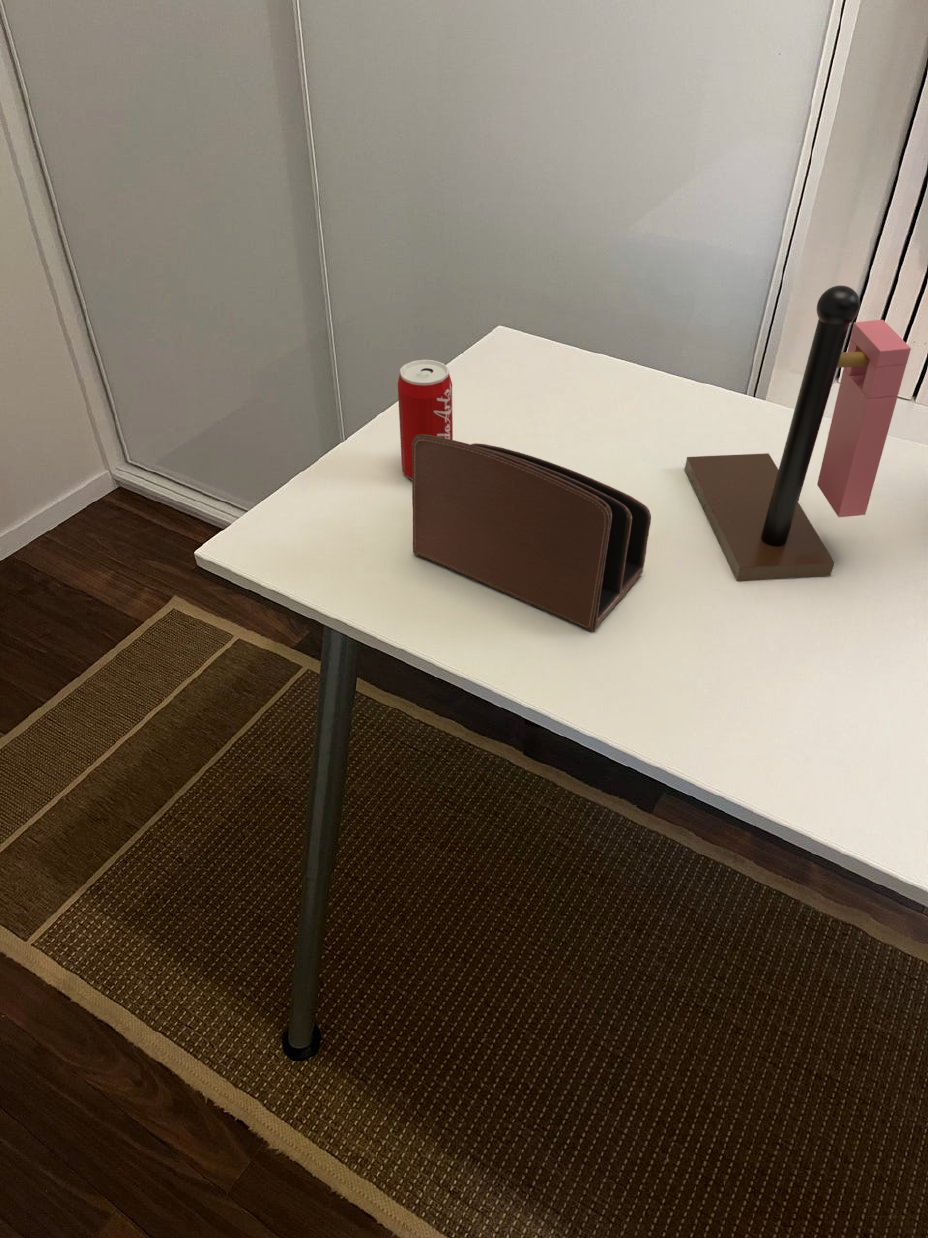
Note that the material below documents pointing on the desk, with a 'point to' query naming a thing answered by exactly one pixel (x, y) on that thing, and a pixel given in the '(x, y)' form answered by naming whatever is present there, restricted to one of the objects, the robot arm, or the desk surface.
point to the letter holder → (527, 527)
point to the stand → (767, 497)
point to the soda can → (423, 405)
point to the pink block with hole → (862, 417)
